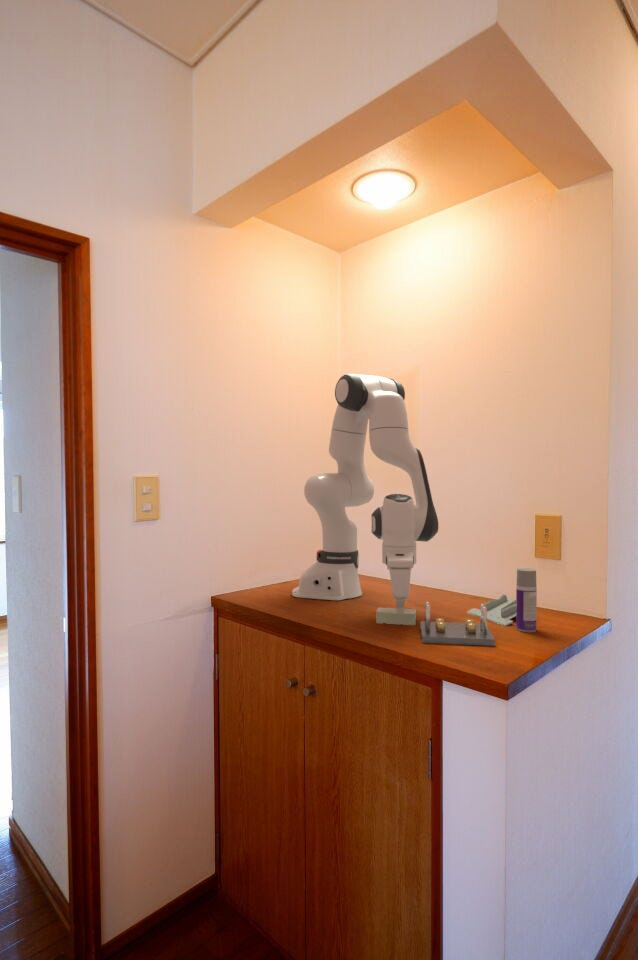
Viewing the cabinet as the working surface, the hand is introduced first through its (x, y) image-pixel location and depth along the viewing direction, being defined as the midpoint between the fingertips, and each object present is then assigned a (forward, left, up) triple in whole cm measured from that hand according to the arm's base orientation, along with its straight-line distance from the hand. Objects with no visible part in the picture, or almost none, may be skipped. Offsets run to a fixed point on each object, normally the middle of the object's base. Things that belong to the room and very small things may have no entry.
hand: (399, 609), depth 141 cm
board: (-1, 0, -4) cm, 4 cm away
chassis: (+13, -11, -3) cm, 17 cm away
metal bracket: (+28, +9, -4) cm, 30 cm away
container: (+31, -3, -4) cm, 31 cm away
